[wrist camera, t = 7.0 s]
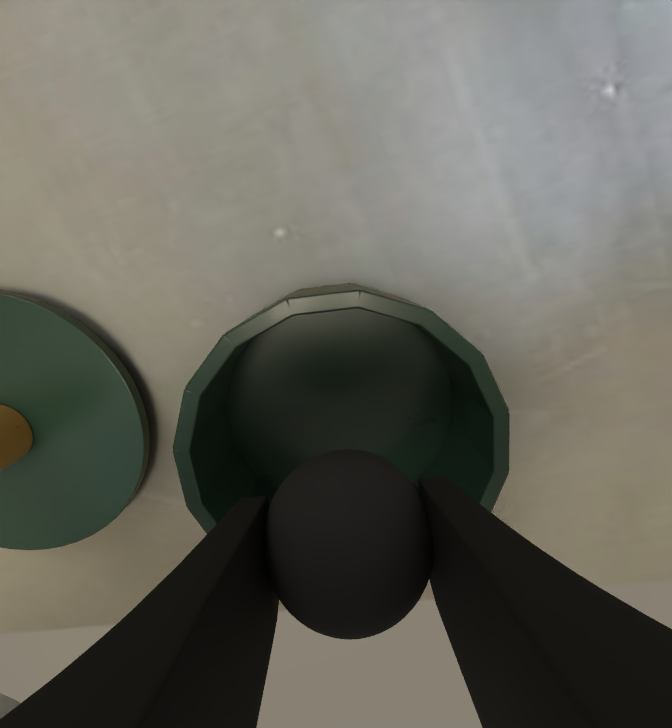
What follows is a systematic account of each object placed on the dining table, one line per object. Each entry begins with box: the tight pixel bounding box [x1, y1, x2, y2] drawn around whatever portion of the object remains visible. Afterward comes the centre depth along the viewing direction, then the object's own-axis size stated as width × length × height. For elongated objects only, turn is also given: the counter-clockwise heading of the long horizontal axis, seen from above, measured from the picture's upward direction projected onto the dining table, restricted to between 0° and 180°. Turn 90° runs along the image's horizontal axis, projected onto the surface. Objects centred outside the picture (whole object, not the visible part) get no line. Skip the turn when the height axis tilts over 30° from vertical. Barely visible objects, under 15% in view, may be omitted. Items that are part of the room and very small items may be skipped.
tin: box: [173, 283, 509, 534], centre depth 13 cm, size 10×10×4 cm
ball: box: [264, 449, 434, 639], centre depth 8 cm, size 4×4×4 cm
